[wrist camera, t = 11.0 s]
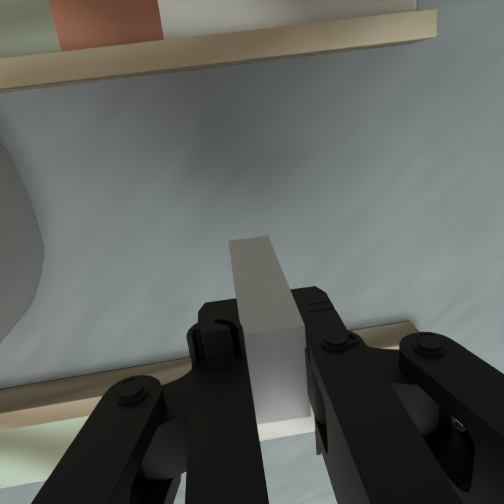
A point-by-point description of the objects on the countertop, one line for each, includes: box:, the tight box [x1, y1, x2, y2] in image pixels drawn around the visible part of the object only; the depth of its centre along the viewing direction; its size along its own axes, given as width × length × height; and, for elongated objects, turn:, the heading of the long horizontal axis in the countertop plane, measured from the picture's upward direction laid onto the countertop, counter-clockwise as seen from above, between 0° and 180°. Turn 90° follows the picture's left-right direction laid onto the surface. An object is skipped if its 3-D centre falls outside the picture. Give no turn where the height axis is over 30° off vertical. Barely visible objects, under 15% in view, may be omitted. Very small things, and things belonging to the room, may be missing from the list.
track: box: [0, 0, 437, 489], centre depth 22 cm, size 32×38×5 cm
